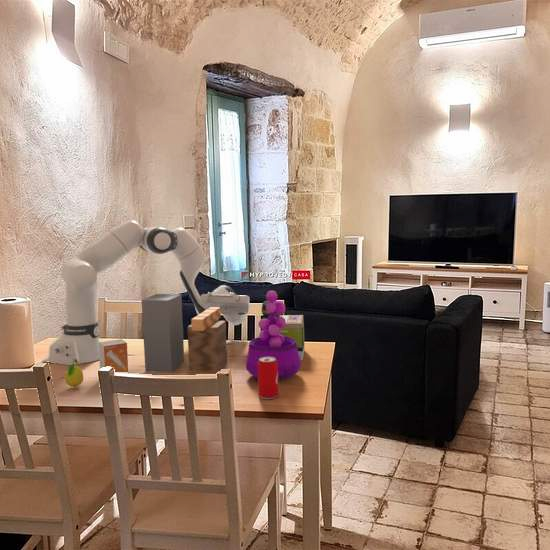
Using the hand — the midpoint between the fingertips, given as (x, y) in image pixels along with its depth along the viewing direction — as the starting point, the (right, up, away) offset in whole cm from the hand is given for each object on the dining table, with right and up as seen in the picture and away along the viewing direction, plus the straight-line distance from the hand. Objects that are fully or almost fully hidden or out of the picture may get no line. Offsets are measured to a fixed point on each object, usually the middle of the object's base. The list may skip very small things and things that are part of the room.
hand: (220, 294), depth 213 cm
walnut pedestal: (-3, -26, -15) cm, 30 cm away
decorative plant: (+21, -27, -29) cm, 45 cm away
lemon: (-44, -30, -36) cm, 64 cm away
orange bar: (-3, -10, -17) cm, 20 cm away
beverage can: (+20, -30, -48) cm, 60 cm away
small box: (-34, -28, -28) cm, 52 cm away
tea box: (+28, -24, -3) cm, 37 cm away
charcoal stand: (-19, -26, -15) cm, 35 cm away
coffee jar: (+21, -22, +14) cm, 34 cm away
